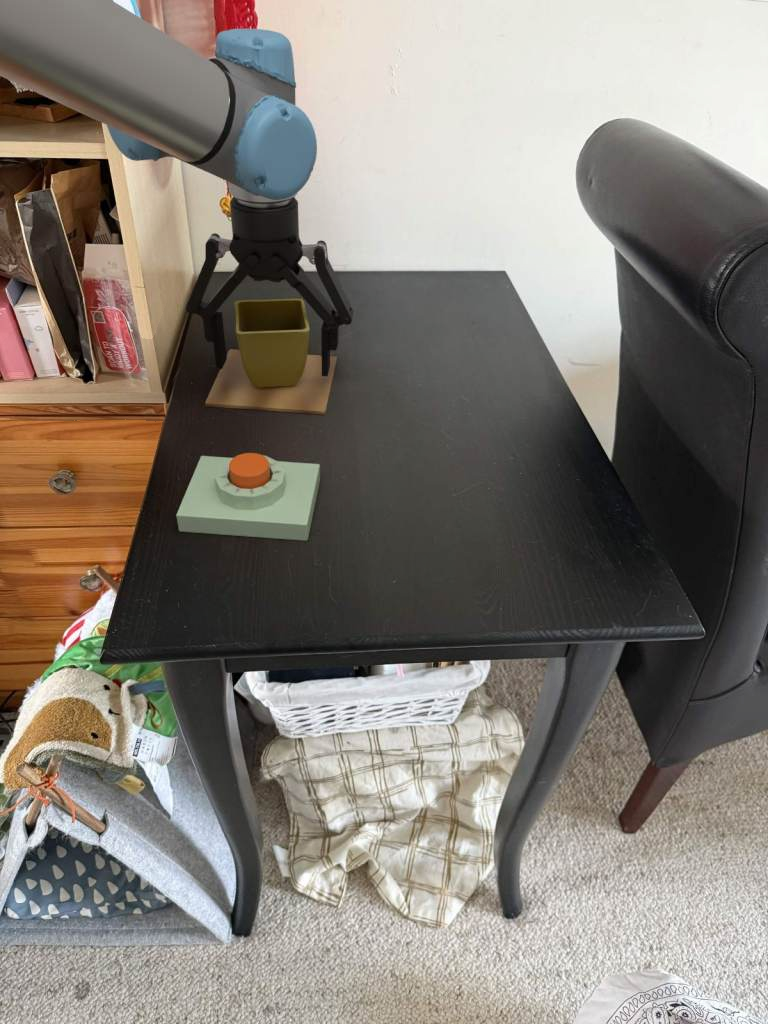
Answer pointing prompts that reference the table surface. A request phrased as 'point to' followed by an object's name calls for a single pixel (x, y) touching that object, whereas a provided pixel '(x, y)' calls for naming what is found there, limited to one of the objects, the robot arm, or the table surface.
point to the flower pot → (272, 340)
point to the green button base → (250, 501)
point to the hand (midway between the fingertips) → (273, 367)
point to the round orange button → (249, 470)
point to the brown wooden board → (272, 388)
